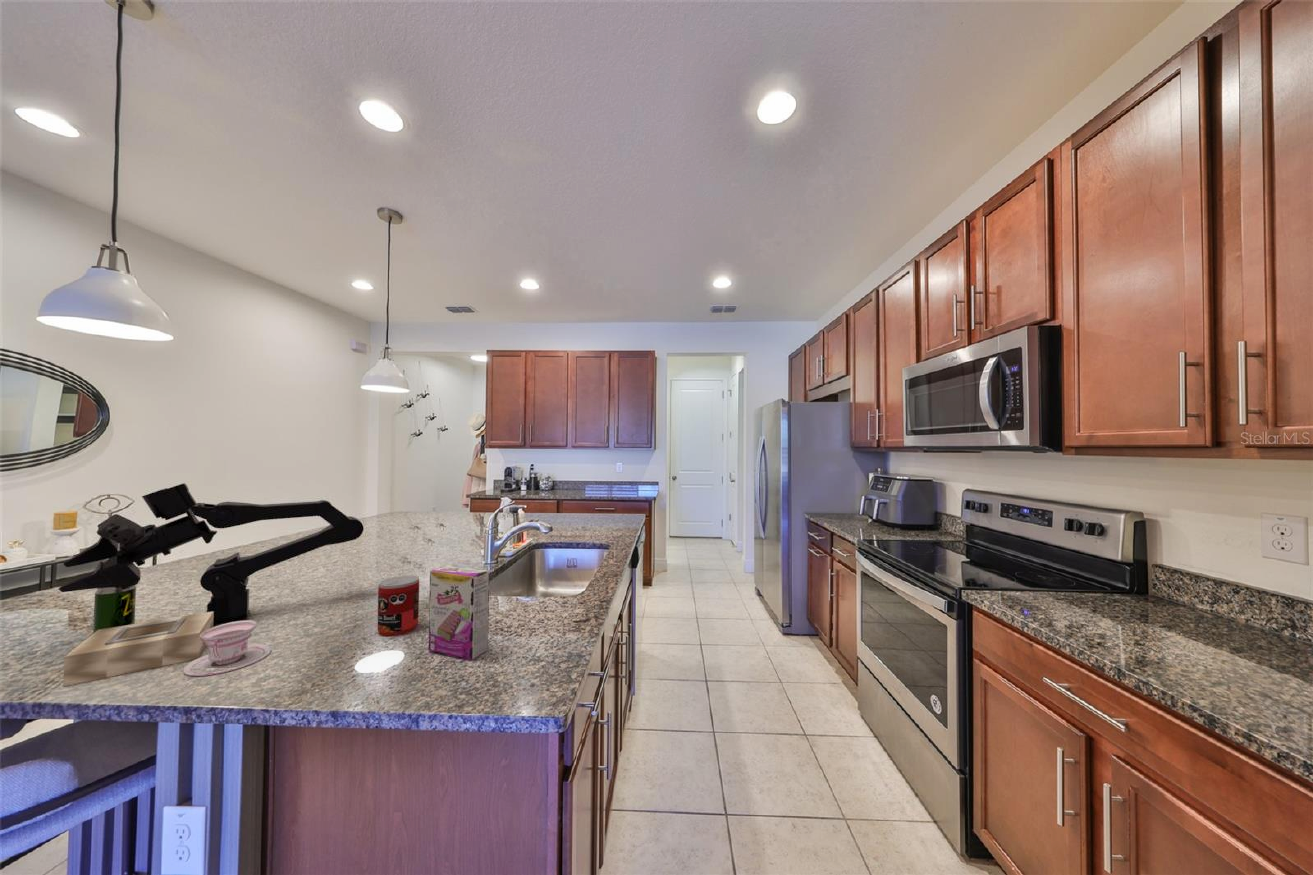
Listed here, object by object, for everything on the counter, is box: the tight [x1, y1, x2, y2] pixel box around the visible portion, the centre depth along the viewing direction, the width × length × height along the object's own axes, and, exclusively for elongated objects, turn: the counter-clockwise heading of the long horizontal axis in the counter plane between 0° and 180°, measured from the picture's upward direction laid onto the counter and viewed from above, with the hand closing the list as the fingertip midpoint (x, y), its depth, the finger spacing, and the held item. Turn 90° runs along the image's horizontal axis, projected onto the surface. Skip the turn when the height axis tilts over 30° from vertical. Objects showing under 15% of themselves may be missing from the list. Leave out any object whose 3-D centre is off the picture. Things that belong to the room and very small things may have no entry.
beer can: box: [92, 585, 137, 634], centre depth 90 cm, size 5×5×12 cm
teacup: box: [182, 619, 272, 677], centre depth 83 cm, size 12×12×6 cm
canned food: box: [377, 575, 420, 637], centre depth 97 cm, size 8×8×11 cm
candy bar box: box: [428, 564, 490, 661], centre depth 87 cm, size 11×5×16 cm, turn 71°
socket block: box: [62, 611, 214, 687], centre depth 84 cm, size 16×14×5 cm
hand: (62, 577), depth 87 cm, fingers open, 9 cm apart
